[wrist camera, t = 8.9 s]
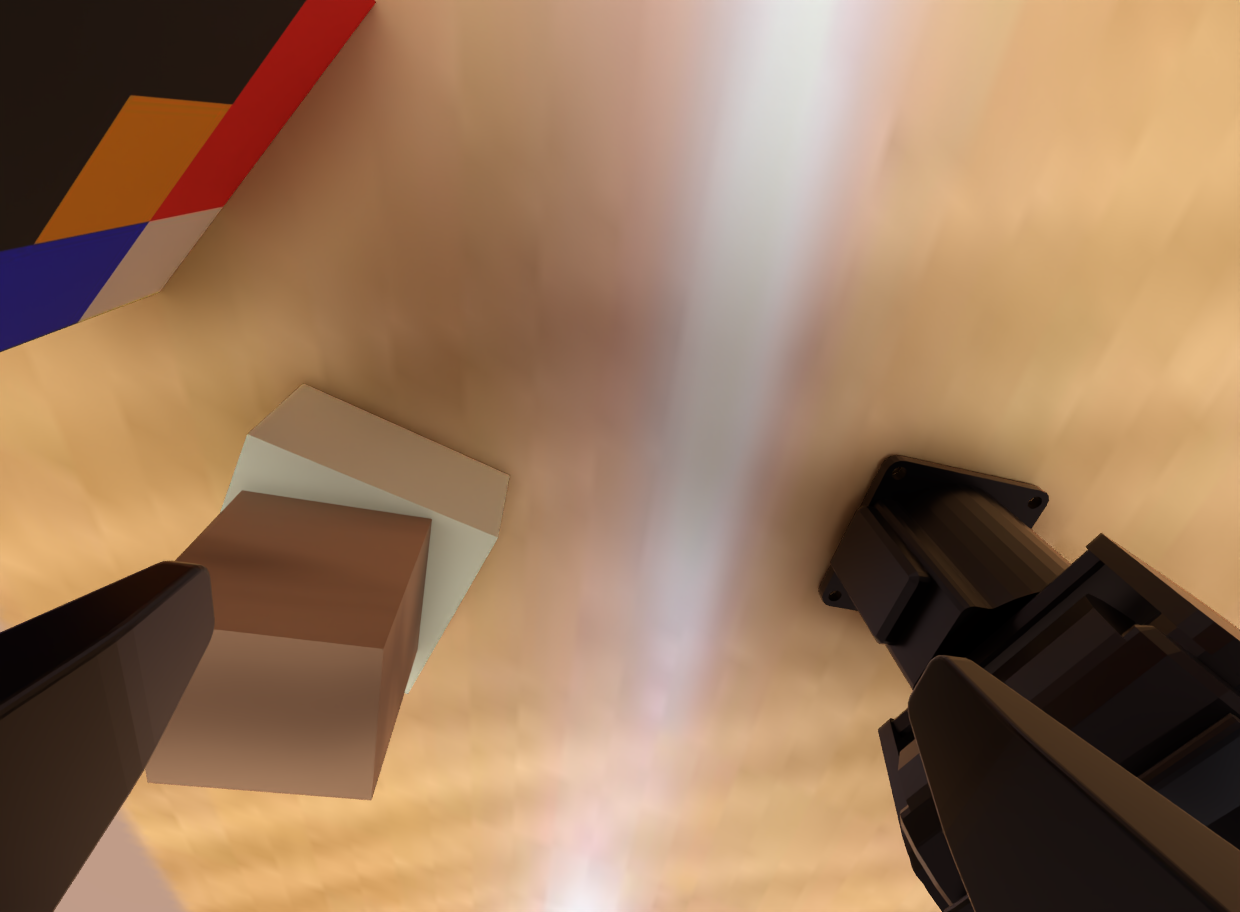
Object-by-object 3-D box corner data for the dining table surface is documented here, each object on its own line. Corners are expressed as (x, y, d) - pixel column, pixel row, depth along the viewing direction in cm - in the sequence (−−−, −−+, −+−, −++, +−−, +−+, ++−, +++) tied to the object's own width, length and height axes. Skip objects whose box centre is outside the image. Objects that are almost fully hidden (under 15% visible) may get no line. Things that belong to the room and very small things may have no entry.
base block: (510, 471, 21) (497, 537, 18) (432, 611, 24) (407, 694, 20) (306, 379, 19) (247, 434, 16) (245, 543, 22) (182, 621, 18)
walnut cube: (417, 650, 20) (371, 800, 15) (248, 630, 19) (147, 783, 14) (432, 518, 17) (383, 649, 13) (241, 490, 17) (120, 618, 12)
